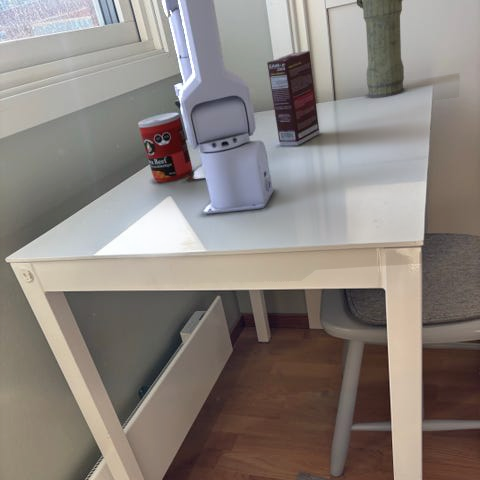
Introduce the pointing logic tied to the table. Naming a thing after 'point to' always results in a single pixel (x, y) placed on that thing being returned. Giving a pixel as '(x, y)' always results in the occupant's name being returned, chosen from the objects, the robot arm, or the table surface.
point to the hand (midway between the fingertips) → (211, 136)
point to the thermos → (383, 46)
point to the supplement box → (294, 98)
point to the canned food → (166, 147)
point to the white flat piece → (197, 174)
